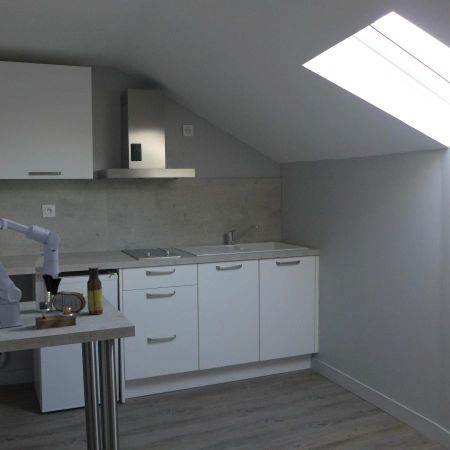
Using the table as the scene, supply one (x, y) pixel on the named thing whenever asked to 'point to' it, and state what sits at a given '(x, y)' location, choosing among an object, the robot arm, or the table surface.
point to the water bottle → (41, 284)
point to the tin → (69, 301)
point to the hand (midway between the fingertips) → (51, 293)
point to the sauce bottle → (94, 292)
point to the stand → (54, 321)
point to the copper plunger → (66, 312)
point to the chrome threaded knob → (43, 308)
